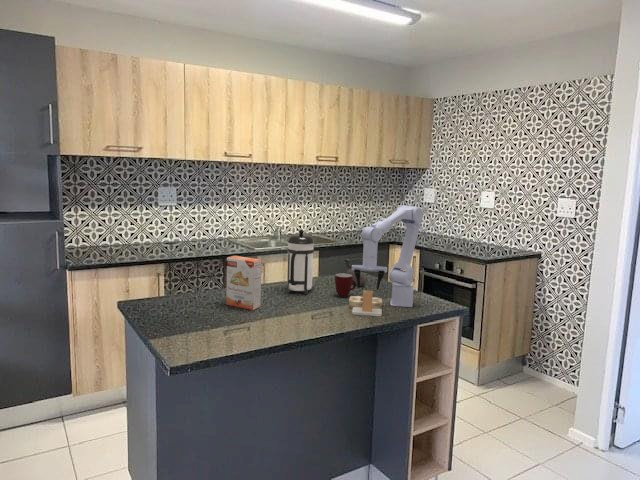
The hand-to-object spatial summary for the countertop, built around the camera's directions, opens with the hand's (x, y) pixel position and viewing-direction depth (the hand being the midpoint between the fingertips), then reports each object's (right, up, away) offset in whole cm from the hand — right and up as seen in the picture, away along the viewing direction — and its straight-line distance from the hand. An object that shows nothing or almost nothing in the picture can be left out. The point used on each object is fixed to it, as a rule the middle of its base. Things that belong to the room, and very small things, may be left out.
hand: (368, 288), depth 197 cm
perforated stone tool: (-1, -3, +49) cm, 49 cm away
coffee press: (-30, -5, +29) cm, 42 cm away
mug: (-8, -6, +26) cm, 28 cm away
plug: (-1, -9, +1) cm, 9 cm away
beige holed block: (0, -9, +10) cm, 13 cm away
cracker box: (-53, -8, +3) cm, 53 cm away
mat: (-1, -10, 0) cm, 10 cm away
